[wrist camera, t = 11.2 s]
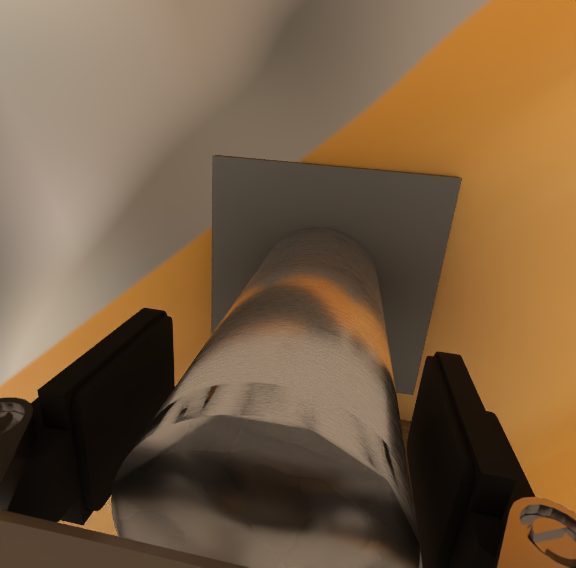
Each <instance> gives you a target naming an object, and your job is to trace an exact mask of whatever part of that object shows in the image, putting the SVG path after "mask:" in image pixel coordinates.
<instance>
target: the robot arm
mask: <svg viewBox="0 0 576 568" xmlns="http://www.w3.org/2000/svg"><path fill="white" fill-rule="evenodd" d="M174 388H175V385H174V355H173V324H172V318H171V317H168V316H167V314H166V312H165V311H162V310H156V309H149V308H143V309H141V310H140V311H139V312H138V313H136V314H135V315H134V316H132V317H131V318H130V319H129V320H127V321H126V322H125V323H123V324H122V325H121V326H120V327H118V328H117V329H116V330H114V331H113V332H112V333H111V334H109V335H108V336H107V337H105V338H104V339H103V340H102V341H100V342H99V343H98V344H96V345H95V346H94V347H93V348H91V349H90V350H89V351H87V352H86V353H85V354H84V355H82V356H81V357H80V358H78V359H77V360H76V361H74V362H73V363H72V364H71V365H69V366H68V367H67V368H65V369H64V370H63V371H62V372H60V373H59V374H58V375H56V376H55V377H54V378H53V379H51V380H50V381H49V382H47V383H46V384H45V385H44V386H42V387H41V388H40V389H38V396H39V397H38V398H37V399H36V400H34V401H33V402H32V403H29V402H28V401H26V400H25V399H20V398H0V568H249V567H245V566H241V565H237V564H232V563H228V562H224V561H220V560H215V559H211V558H207V557H203V556H199V555H194V554H190V553H186V552H182V551H177V550H173V549H169V548H165V547H160V546H156V545H152V544H148V543H143V542H139V541H135V540H131V539H126V538H122V537H118V536H114V535H109V534H105V533H100V532H96V531H92V530H87V529H83V528H79V527H74V526H70V525H66V524H61V523H57V522H58V521H60V519H61V520H62V521H67V522H71V523H75V524H79V525H84V523H85V522H86V521H87V519H88V518H89V517H90V515H91V514H92V512H93V511H94V510H95V511H98V510H100V509H101V508H102V507H103V506H104V505H105V503H106V502H107V500H108V499H109V497H110V496H111V495H112V491H113V484H114V481H115V478H116V475H117V472H118V470H119V469H120V467H121V465H122V463H123V462H124V460H125V458H126V457H127V455H128V454H129V453H130V451H131V450H132V448H133V447H134V445H135V444H136V443H137V441H138V440H139V438H140V437H141V435H142V434H143V433H144V431H145V430H146V428H147V427H148V425H149V424H150V423H151V421H152V420H153V418H154V417H155V415H156V414H157V413H158V411H159V410H160V408H161V407H162V405H163V404H164V403H165V401H166V400H167V398H168V397H169V395H170V394H171V393H172V391H173V390H174ZM407 459H408V466H409V473H410V480H411V487H412V495H413V502H414V509H415V516H416V523H417V530H418V536H419V542H420V552H421V559H422V567H423V568H576V513H574V512H573V511H571V510H569V509H567V508H566V507H564V506H562V505H560V504H558V503H555V502H552V501H550V500H547V499H542V498H537V497H535V495H534V493H533V491H532V489H531V487H530V485H529V483H528V480H527V478H526V476H525V474H524V472H523V470H522V468H521V466H520V464H519V462H518V460H517V458H516V456H515V453H514V451H513V449H512V447H511V445H510V443H509V441H508V439H507V437H506V435H505V433H504V431H503V428H502V426H501V424H500V422H499V420H498V418H497V417H496V415H495V414H494V413H492V412H489V411H486V410H485V408H484V406H483V404H482V402H481V399H480V397H479V395H478V393H477V390H476V388H475V386H474V384H473V382H472V379H471V377H470V375H469V373H468V370H467V368H466V366H465V364H464V362H463V359H462V357H461V356H460V355H457V354H451V353H444V352H436V353H435V355H434V357H433V356H427V358H426V361H425V365H424V369H423V374H422V378H421V382H420V387H419V391H418V395H417V400H416V404H415V408H414V413H413V417H412V421H411V426H410V430H409V435H408V439H407Z"/></svg>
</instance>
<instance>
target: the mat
mask: <svg viewBox="0 0 576 568" xmlns="http://www.w3.org/2000/svg"><path fill="white" fill-rule="evenodd" d="M461 180H462V178H460V177H453V176H442V175H431V174H420V173H409V172H398V171H386V170H375V169H364V168H353V167H342V166H331V165H320V164H309V163H298V162H287V161H275V160H265V159H254V158H242V157H232V156H221V155H215V156H213V177H212V181H213V182H212V186H213V187H212V334H213V333H214V331H215V330H216V328H217V327H218V325H219V324H220V323H221V321H222V320H223V318H224V317H225V315H226V314H227V313H228V311H229V310H230V308H231V307H232V305H233V304H234V303H235V301H236V300H237V298H238V297H239V295H240V294H241V293H242V291H243V290H244V288H245V287H246V285H247V284H248V283H249V281H250V280H251V278H252V277H253V275H254V274H255V273H256V271H257V270H258V268H259V267H260V265H261V264H262V263H263V261H264V260H265V258H266V257H267V255H268V254H269V252H270V251H271V250H272V249H273V247H274V246H275V245H276V244H277V243H278V242H279V241H280V240H282V239H283V238H285V237H286V236H288V235H290V234H292V233H294V232H296V231H299V230H303V229H307V228H328V229H333V230H336V231H340V232H342V233H344V234H346V235H348V236H350V237H351V238H353V239H355V240H356V241H357V242H358V243H359V244H361V245H362V247H363V248H364V249H365V250H366V251H367V253H368V254H369V255H370V257H371V259H372V261H373V263H374V265H375V268H376V272H377V277H378V283H379V289H380V296H381V302H382V308H383V315H384V321H385V327H386V334H387V340H388V346H389V353H390V359H391V365H392V372H393V378H394V384H395V391H396V392H397V393H404V394H410V395H413V393H414V389H415V384H416V380H417V376H418V371H419V367H420V362H421V358H422V353H423V349H424V344H425V340H426V336H427V331H428V327H429V322H430V318H431V313H432V309H433V304H434V300H435V296H436V291H437V287H438V282H439V278H440V273H441V269H442V264H443V260H444V256H445V251H446V247H447V242H448V238H449V233H450V229H451V224H452V220H453V216H454V211H455V207H456V202H457V198H458V193H459V189H460V184H461Z"/></svg>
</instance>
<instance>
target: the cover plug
mask: <svg viewBox="0 0 576 568" xmlns="http://www.w3.org/2000/svg"><path fill="white" fill-rule="evenodd" d="M111 502H112V515H113V520H114V525H115V528H116V531H117V534H118V536H119V537H122V538H126V539H131V540H135V541H139V542H143V543H148V544H152V545H156V546H160V547H165V548H169V549H173V550H177V551H182V552H186V553H190V554H194V555H199V556H203V557H207V558H211V559H215V560H220V561H224V562H228V563H232V564H237V565H241V566H245V567H249V568H419V564H420V542H419V536H418V530H417V523H416V517H415V511H414V504H413V498H412V492H411V485H410V479H409V473H408V466H407V460H406V454H405V447H404V441H403V435H402V428H401V422H400V416H399V409H398V403H397V397H396V391H395V384H394V378H393V372H392V365H391V359H390V353H389V346H388V340H387V334H386V327H385V321H384V315H383V308H382V302H381V296H380V289H379V283H378V277H377V272H376V268H375V265H374V263H373V261H372V259H371V257H370V255H369V254H368V253H367V251H366V250H365V249H364V248H363V247H362V245H361V244H359V243H358V242H357V241H356V240H355V239H353V238H351V237H350V236H348V235H346V234H344V233H342V232H340V231H336V230H333V229H328V228H307V229H303V230H299V231H296V232H294V233H292V234H290V235H288V236H286V237H285V238H283V239H282V240H280V241H279V242H278V243H277V244H276V245H275V246H274V247H273V249H272V250H271V251H270V252H269V254H268V255H267V257H266V258H265V260H264V261H263V263H262V264H261V265H260V267H259V268H258V270H257V271H256V273H255V274H254V275H253V277H252V278H251V280H250V281H249V283H248V284H247V285H246V287H245V288H244V290H243V291H242V293H241V294H240V295H239V297H238V298H237V300H236V301H235V303H234V304H233V305H232V307H231V308H230V310H229V311H228V313H227V314H226V315H225V317H224V318H223V320H222V321H221V323H220V324H219V325H218V327H217V328H216V330H215V331H214V333H213V334H212V335H211V337H210V338H209V340H208V341H207V343H206V344H205V345H204V347H203V348H202V350H201V351H200V353H199V354H198V355H197V357H196V358H195V360H194V361H193V363H192V364H191V365H190V367H189V368H188V370H187V371H186V373H185V374H184V375H183V377H182V378H181V380H180V381H179V383H178V384H177V385H176V387H175V388H174V390H173V391H172V393H171V394H170V395H169V397H168V398H167V400H166V401H165V403H164V404H163V405H162V407H161V408H160V410H159V411H158V413H157V414H156V415H155V417H154V418H153V420H152V421H151V423H150V424H149V425H148V427H147V428H146V430H145V431H144V433H143V434H142V435H141V437H140V438H139V440H138V441H137V443H136V444H135V445H134V447H133V448H132V450H131V451H130V453H129V454H128V455H127V457H126V458H125V460H124V462H123V463H122V465H121V467H120V469H119V470H118V472H117V475H116V478H115V481H114V484H113V491H112V498H111Z"/></svg>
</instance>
